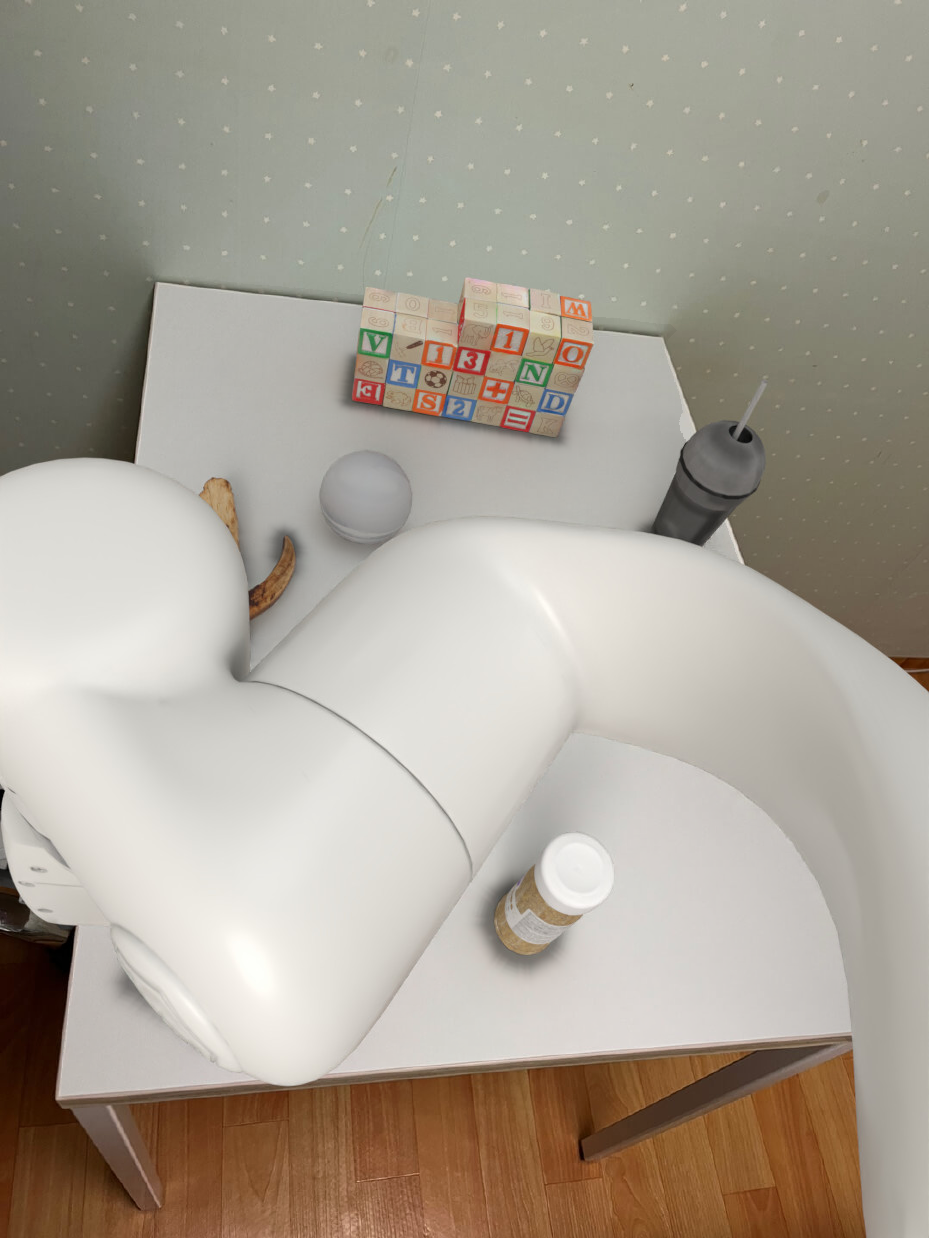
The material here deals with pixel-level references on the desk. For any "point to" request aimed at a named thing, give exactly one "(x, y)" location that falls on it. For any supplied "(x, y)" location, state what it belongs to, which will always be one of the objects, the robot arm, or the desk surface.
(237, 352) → the desk surface
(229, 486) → the lashed bone hook
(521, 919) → the sprinkles bottle
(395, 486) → the bath bomb
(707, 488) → the beverage cup
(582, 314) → the stack of blocks
